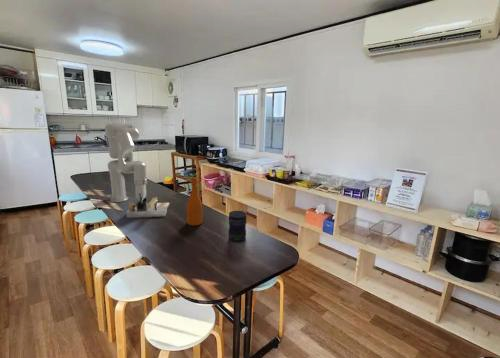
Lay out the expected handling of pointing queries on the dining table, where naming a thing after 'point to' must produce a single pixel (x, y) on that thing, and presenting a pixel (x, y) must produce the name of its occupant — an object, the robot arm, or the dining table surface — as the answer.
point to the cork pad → (162, 204)
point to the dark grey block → (145, 205)
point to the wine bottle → (194, 206)
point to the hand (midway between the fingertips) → (142, 206)
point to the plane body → (146, 211)
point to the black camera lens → (237, 226)
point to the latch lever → (152, 202)
